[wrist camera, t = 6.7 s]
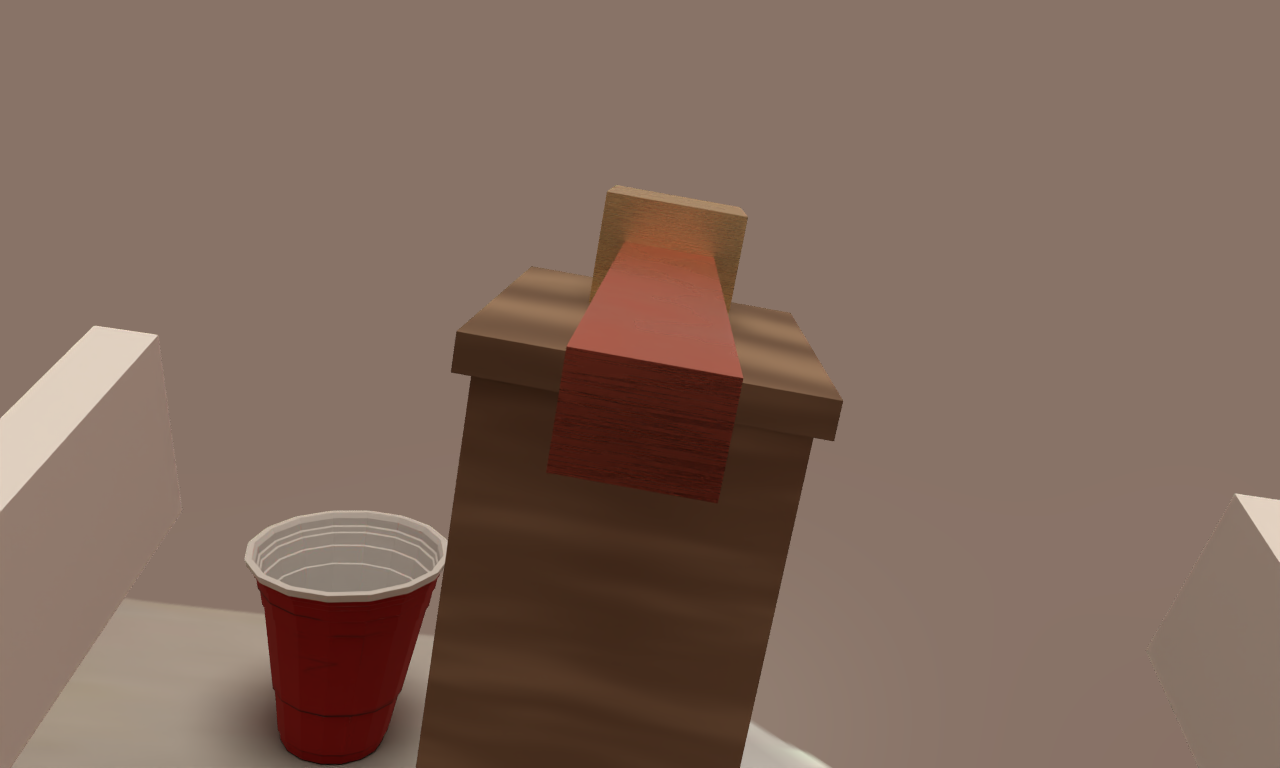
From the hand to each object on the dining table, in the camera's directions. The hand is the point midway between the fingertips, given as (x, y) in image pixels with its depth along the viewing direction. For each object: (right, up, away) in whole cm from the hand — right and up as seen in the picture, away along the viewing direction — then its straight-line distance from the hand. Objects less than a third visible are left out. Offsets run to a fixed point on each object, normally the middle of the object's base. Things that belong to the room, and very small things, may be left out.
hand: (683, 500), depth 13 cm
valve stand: (-5, -25, +31) cm, 40 cm away
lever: (0, +2, +18) cm, 18 cm away
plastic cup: (-18, -19, +47) cm, 54 cm away
